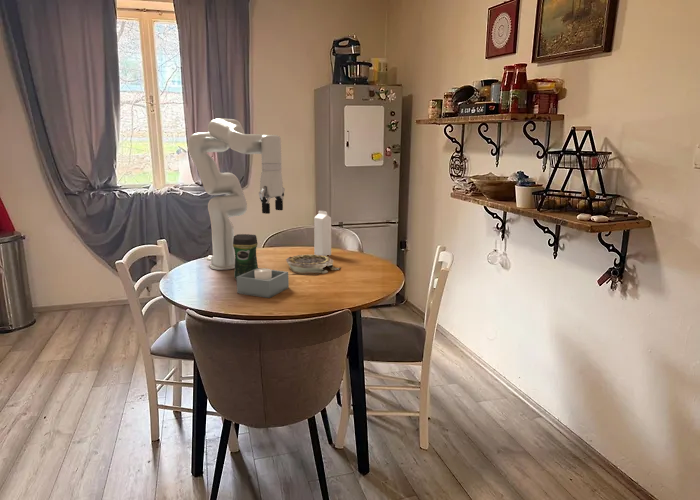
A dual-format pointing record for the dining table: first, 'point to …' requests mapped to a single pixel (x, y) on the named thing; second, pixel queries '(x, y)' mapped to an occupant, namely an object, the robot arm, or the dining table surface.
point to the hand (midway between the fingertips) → (272, 211)
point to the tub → (262, 284)
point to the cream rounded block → (263, 274)
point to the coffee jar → (245, 253)
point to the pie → (310, 264)
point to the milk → (322, 234)
